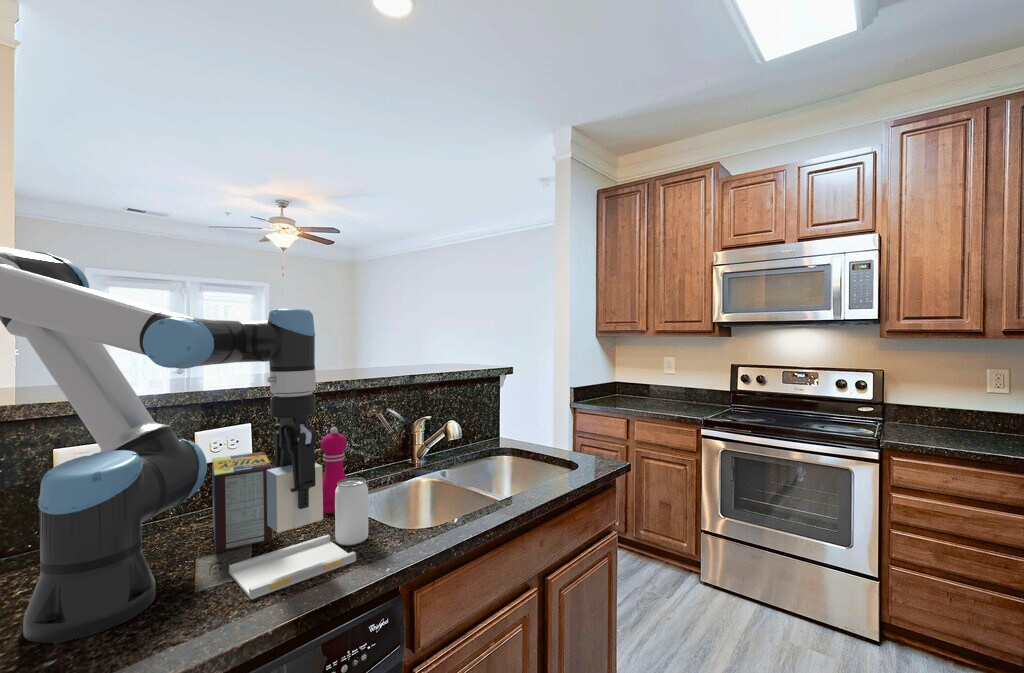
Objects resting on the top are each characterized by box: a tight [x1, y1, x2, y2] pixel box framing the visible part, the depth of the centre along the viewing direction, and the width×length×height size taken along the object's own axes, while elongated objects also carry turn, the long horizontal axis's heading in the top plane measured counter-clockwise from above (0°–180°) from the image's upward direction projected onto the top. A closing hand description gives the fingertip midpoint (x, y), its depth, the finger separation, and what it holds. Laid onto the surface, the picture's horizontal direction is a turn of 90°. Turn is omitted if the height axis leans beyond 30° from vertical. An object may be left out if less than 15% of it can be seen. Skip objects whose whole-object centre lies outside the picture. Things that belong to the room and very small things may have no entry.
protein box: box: [211, 451, 274, 553], centre depth 102 cm, size 10×15×16 cm
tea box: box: [266, 462, 324, 534], centre depth 87 cm, size 8×5×10 cm, turn 136°
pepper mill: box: [320, 426, 348, 514], centre depth 116 cm, size 7×7×20 cm
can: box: [334, 477, 369, 547], centre depth 98 cm, size 6×6×12 cm
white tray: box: [228, 534, 357, 600], centre depth 87 cm, size 18×12×2 cm
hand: (295, 520), depth 87 cm, fingers closed on tea box, 5 cm apart
